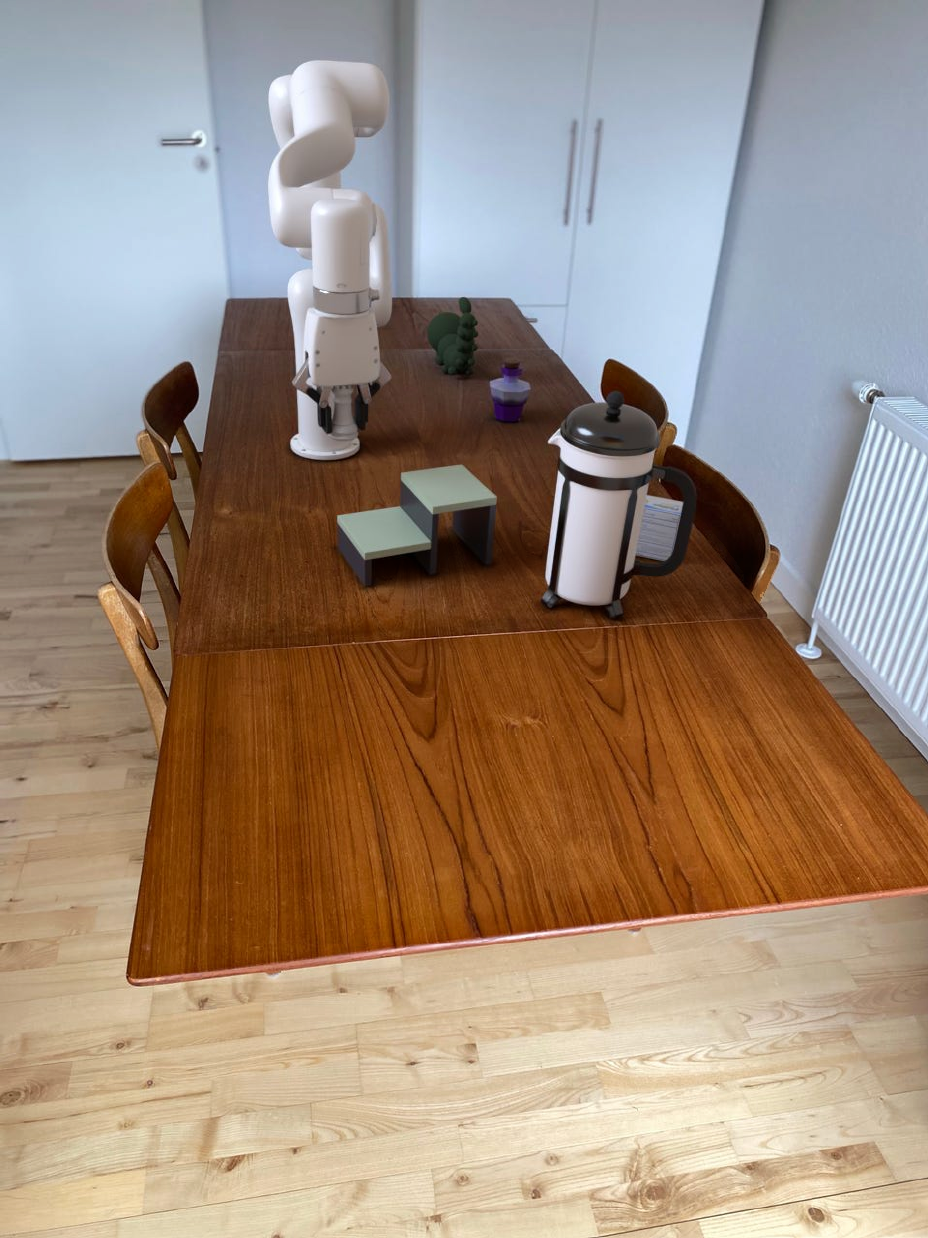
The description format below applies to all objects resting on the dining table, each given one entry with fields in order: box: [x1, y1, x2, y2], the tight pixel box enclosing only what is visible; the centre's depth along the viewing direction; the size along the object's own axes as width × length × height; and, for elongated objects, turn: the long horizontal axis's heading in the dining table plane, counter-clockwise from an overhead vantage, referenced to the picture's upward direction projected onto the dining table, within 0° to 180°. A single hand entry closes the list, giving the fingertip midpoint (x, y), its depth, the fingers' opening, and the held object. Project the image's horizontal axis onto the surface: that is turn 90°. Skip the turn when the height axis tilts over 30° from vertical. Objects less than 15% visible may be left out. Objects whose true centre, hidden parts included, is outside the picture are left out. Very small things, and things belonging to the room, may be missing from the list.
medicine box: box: [635, 494, 683, 562], centre depth 142 cm, size 8×4×9 cm, turn 71°
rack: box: [336, 464, 498, 588], centre depth 136 cm, size 12×20×11 cm, turn 115°
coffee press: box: [540, 390, 697, 621], centre depth 124 cm, size 17×16×30 cm
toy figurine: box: [426, 296, 479, 376], centre depth 209 cm, size 9×19×25 cm
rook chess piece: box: [328, 385, 359, 442], centre depth 133 cm, size 4×4×8 cm
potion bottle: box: [489, 357, 532, 424], centre depth 186 cm, size 9×9×12 cm
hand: (343, 427), depth 134 cm, fingers closed on rook chess piece, 4 cm apart
